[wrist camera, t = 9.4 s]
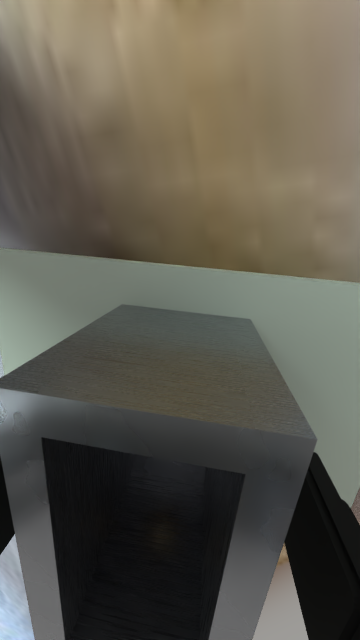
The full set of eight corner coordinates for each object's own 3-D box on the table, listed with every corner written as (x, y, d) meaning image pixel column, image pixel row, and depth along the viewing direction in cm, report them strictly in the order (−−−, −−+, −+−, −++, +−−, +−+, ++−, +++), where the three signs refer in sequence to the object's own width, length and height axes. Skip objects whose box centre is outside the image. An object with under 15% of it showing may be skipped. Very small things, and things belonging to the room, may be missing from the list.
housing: (121, 304, 11) (-13, 386, 4) (250, 319, 10) (317, 439, 4) (120, 465, 14) (38, 658, 7) (220, 483, 13) (228, 711, 7)
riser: (57, 425, 19) (19, 469, 15) (41, 248, 15) (-16, 247, 11) (311, 470, 17) (339, 533, 13) (375, 280, 13) (443, 293, 9)
